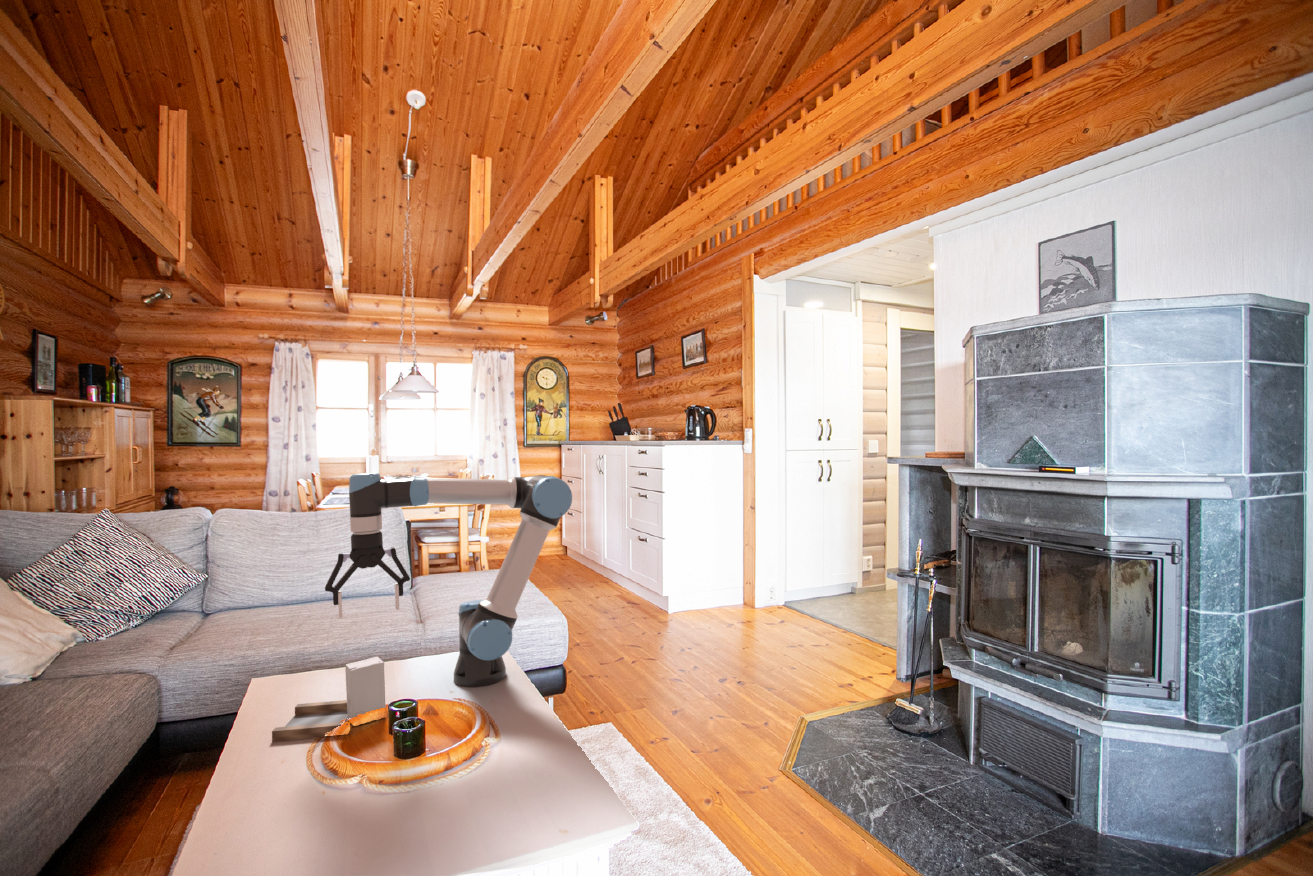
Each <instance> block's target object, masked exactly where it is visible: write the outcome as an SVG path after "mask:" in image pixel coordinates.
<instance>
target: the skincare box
mask: <svg viewBox="0 0 1313 876" xmlns="http://www.w3.org/2000/svg"><path fill="white" fill-rule="evenodd" d="M345 684H346V685H345V690H346V691H345V692H346V700H347V717H348V719H349V718H353V717H357V715H358V714H365V713H366V712H369V711H372V710H376V709H380V708H386V709H387V707H386V682H385V662H384V661H383V660H382V659H381V658H380V657H379V656H374V657H370V658H366V659H362V660H359V661H354V662H350V663H347V664H345ZM348 719H347V720H348Z"/></svg>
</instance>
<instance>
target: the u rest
mask: <svg viewBox="0 0 1313 876" xmlns="http://www.w3.org/2000/svg"><path fill="white" fill-rule="evenodd" d="M347 718H348V717H347V699H345V700H334V701H333V700H332V701H321V702H319V701H318V702H311V703H310V702H308V703H298V704H296V705H295V707H294V716H293V717H292V718H291V719H290V720H289V721H288V722H287V723H286V724H285V726H279V727H274V729H272V730H271V742H272V743H274V742H283V741H285V742H286V741H287V742H288V741H294V740H296V741H297V740H305V739H307V740H308V739H316V738H317V739H319V738H324V737H323V736H324V735H325V733H327V732H330V731H332V730H333V729H334V728H336V727H338V726H341V724H340V723H343V722H340V721H341V720H343V719H347ZM347 720H348V719H347ZM346 725H348V724H346Z"/></svg>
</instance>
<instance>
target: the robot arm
mask: <svg viewBox="0 0 1313 876" xmlns="http://www.w3.org/2000/svg"><path fill="white" fill-rule="evenodd" d="M348 480H349V482H348V483H349V484H348V485H349V487H348V489H349V490H348V497H349V498H348V499H349V501H348V502H349V514H350V515H349V516H350V517H349V520H350V521H349V523H350V525H349V526H350V532H351V533H352V534H351V535H350V549H351V550H350V552H349V553H344V552H339V553H338V555H337V562H336V564H335V566H334V568H333V570H332V571H331V574H330V576H329V578H328V580H327V582H326V584H325V586H324V591H325V592H330V593H332V599H333V600H332V603H333V605H334V606H338V619H343V603H342V602H343V601H342V600H343V599H342V590H340V589H342V587H343V586H344V585H345V584H346V582H347V581H348V580H349V579H350V577H351V576H352V575H353V574H354V573H355V571H356V570H357V569H358V568H359V569H367V568H371V569H372V568H375V567H377V566H379V567H380V568H381V569H382V570H383V571H385V573H387V575H389V576H390V577H391V578H392V579H393V580H394V581H395V583H394V602H395V603H394V605H395V606H394V607H395V610H396V611H398V610H400V597H403V596H404V584H405V583H406V582H409V581H410V580H411V578H410V575H409V574H408V572H407V571H406V569H405V567H404V565H403V564H402V562H401V561H400V559H399V558H398V555H397V549H396V548H395V547H393V546H392V547H390V548H386V549H384V545H383V543H384V542H383V532H382V529H383V522H382V521H383V519H382V509H389V508H402V507H403V508H405V507H406V508H407V507H419V506H426V505H427V504H447V505H448V504H451V505H452V504H453V505H454V504H457V505H461V504H462V505H496V506H497V505H501V506H502V505H504V506H506V505H507V506H508V507H510V509H520V510H519V515H520V517H521V521H520V523H519V526H518V528H517V530H516V532H515V535H514V537H513V539H512V542H511V543H510V546H509V548H508V551H507V553H506V555H505V557H504V559H503V562H502V563H501V566H500V569H499V571H498V572H497V575H496V577H495V580H494V582H493V585H492V586H491V589H490V590H489V593H488V595H487V597H486V598H485V599H478V600H469V601H465V602H462V603H461V604H460V605H459V607H458V613H457V614H458V622H459V623H458V628H459V631H458V637H459V638H458V640H459V642H458V643H459V644H458V645H459V655H458V657H457V661H456V664H455V668H454V671H453V683H455V684H456V685H459V686H461V687H483V686H487V685H493V684H495V683H498V682H499V681H501V680H503V679H504V678H505V677H506V674H507V671H506V670H507V669H506V668H507V667H506V664H505V662H504V659H503V656H504V655H505V654H506V653H507V652H508V650H509V649H510V648H511V645H512V643H513V629H514V627H515V624H516V621H517V619H518V618H519V616H518V613H517V611H516V609H517V607H518V604H519V601H520V599H521V597H522V594H523V593H524V591H525V588H526V585H527V583H528V582H529V581H528V580H529V579H530V576H531V574H532V572H533V569H534V567H535V565H536V563H537V560H538V557H539V556H540V553H541V552H542V551H541V550H542V549H543V546H544V544H545V542H546V539H547V537H548V535H549V532H551V531H552V530H555V529H556V528H557V527H558V524H559V522H560V520H561V517H563V516H564V515H566V514H567V513H568V512H569V510H570V508H571V506H572V504H573V493H572V490H571V488H570V486H569V484H568V483H567V482H566V481H564V479H561V478H560V477H557V476H554V475H543V474H539V475H531V476H512V477H511V478H510V479H486V478H481V479H480V478H457V477H456V478H453V477H451V478H450V477H425V476H423V477H419V476H408V475H400V476H397V477H395V478H393V479H382V478H381V474H380V473H379V472H367V473H366V472H365V473H364V472H363V473H354V474H352V475H350V477H349V479H348ZM385 555H387V556H388V557H389V558H390V557H391V559H392V560H393V562H394V564H395V565H396V567H397V568H398V570H399V572H400V574H401V575H402V577H400V576H399V575H398V574H397V573H396V572H395V571H394V570H393V569H392V568H390V566H388V564H386V563H385V561H383V560H382V559H384V556H385ZM348 559H350V560H351V561H352V562H353V563H352V564H351V565H350V566H349V568H348V569H347V570H346V572H345V573H344V574H343V575H342V576H341V578H340V579H339V580H338V581H337V582H336V583H335V580H336V579H337V576H338V574H339V572H340V570H341V569H342V566H343V563H345V562H347V560H348ZM334 583H335V585H334ZM333 585H334V586H333Z"/></svg>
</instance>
